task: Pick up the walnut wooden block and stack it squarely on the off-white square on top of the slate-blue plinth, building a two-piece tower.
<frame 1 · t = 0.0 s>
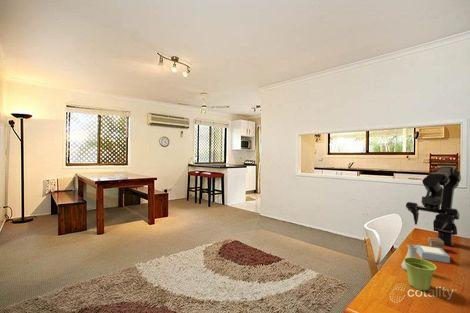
hand: (427, 227, 107), 15 cm above the table, tool tilted 35°, fingers open, 9 cm apart
walnut block: (435, 249, 119), on the table
flask: (411, 270, 98), on the table
plinth: (431, 256, 111), on the table
plant pot: (418, 286, 86), on the table
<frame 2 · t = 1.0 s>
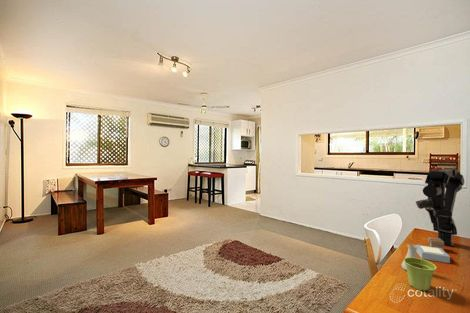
hand: (436, 225, 119), 12 cm above the table, tool pointing down, fingers open, 9 cm apart
nothing on the table moved.
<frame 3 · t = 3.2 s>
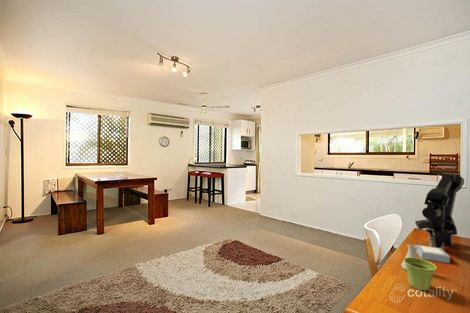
hand: (435, 246, 119), 1 cm above the table, tool pointing down, fingers closed on walnut block, 5 cm apart
walnut block: (435, 248, 119), on the table, touching gripper
everything else where it was.
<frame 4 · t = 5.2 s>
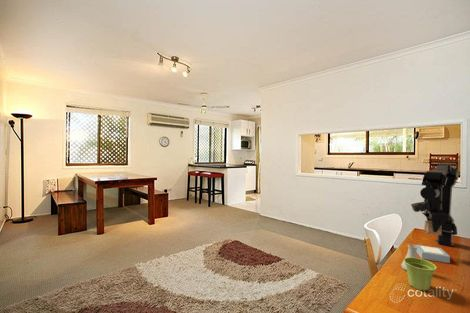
hand: (432, 230, 112), 12 cm above the table, tool pointing down, fingers closed on walnut block, 5 cm apart
walnut block: (432, 232, 112), point 11 cm above the table, touching gripper
everything else where it was.
when the fingers open (6 cm above the table, at t = 7.5 s): walnut block drops 2 cm, resting on plinth.
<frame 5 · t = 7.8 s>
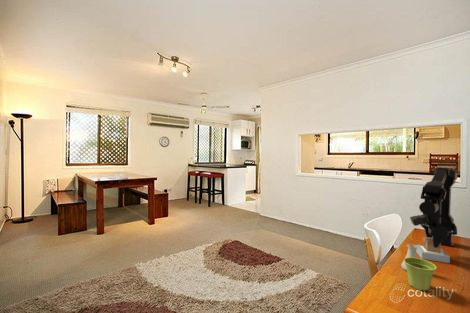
hand: (432, 244, 110), 6 cm above the table, tool pointing down, fingers open, 9 cm apart
walnut block: (431, 249, 111), point 3 cm above the table, touching plinth
everything else where it was.
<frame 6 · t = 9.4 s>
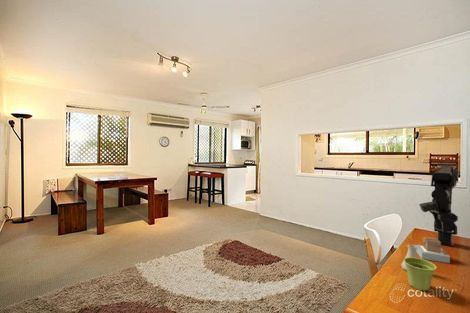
hand: (441, 229, 115), 12 cm above the table, tool pointing down, fingers open, 9 cm apart
nothing on the table moved.
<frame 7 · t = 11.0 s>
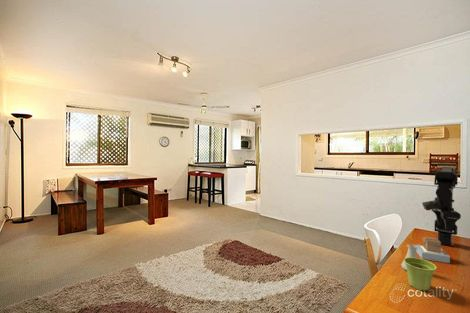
hand: (443, 227, 116), 12 cm above the table, tool pointing down, fingers open, 9 cm apart
nothing on the table moved.
at the end: walnut block 0.1 cm off-centre on the plinth, point 3.2 cm above the plinth's base; walnut block tilted 0°; the gripper is holding nothing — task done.
